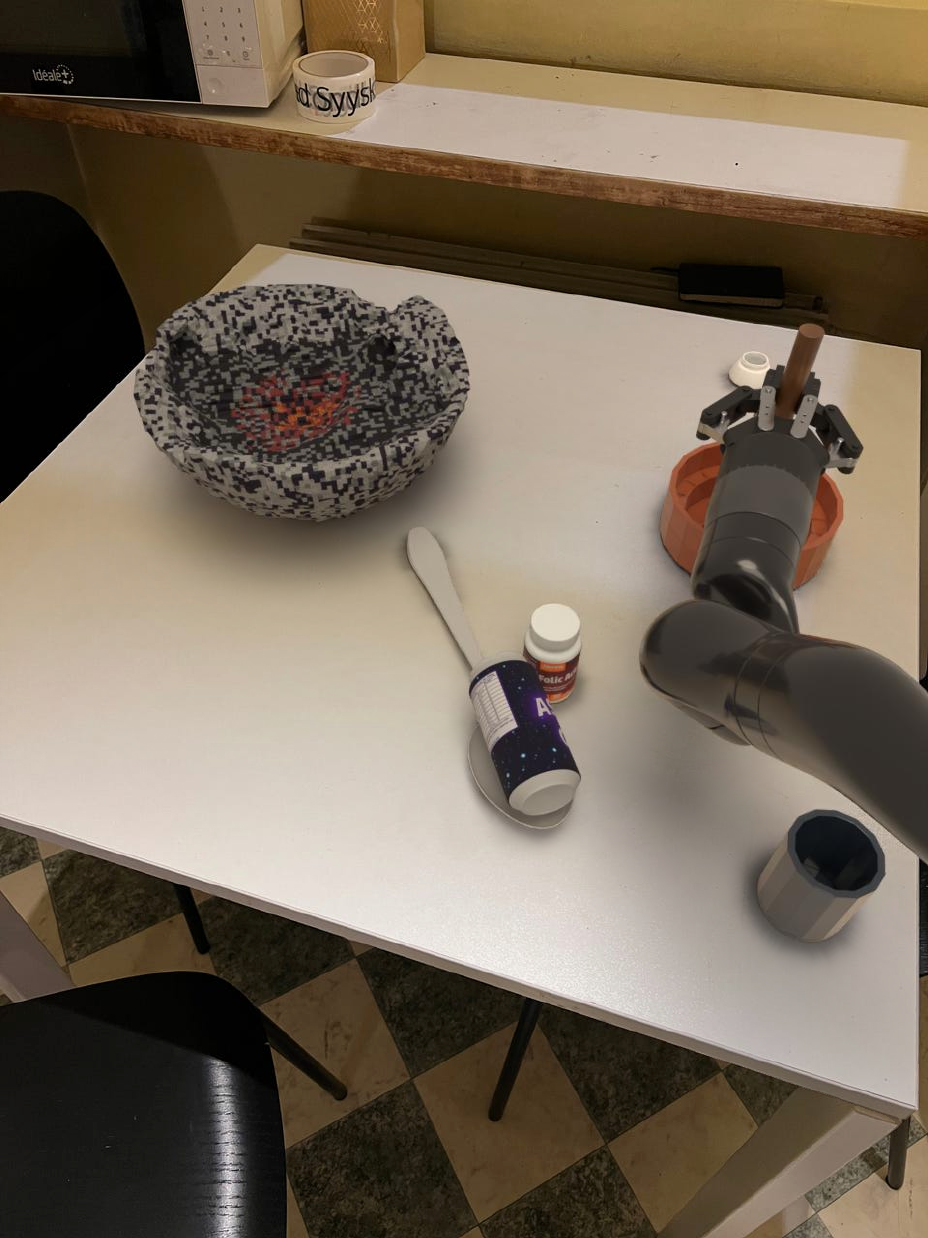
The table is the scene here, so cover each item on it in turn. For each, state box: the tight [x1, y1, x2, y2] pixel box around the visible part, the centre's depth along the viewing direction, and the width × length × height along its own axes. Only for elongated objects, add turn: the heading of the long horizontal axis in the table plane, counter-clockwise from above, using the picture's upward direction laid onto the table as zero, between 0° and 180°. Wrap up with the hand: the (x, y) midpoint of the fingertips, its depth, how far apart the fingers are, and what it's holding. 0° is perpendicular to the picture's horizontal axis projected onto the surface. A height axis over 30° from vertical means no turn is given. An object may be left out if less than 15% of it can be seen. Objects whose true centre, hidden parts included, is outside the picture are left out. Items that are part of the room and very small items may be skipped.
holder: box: [756, 808, 886, 943], centre depth 60 cm, size 6×6×8 cm
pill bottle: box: [522, 602, 583, 704], centre depth 72 cm, size 5×5×8 cm
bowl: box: [133, 283, 471, 523], centre depth 87 cm, size 31×31×15 cm
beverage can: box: [468, 651, 582, 815], centre depth 66 cm, size 6×6×12 cm
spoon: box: [406, 526, 576, 830], centre depth 76 cm, size 35×8×3 cm, turn 19°
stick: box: [774, 323, 826, 419], centre depth 77 cm, size 3×2×20 cm, turn 73°
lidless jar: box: [728, 350, 772, 390], centre depth 103 cm, size 5×3×5 cm
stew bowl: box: [658, 441, 844, 589], centre depth 85 cm, size 16×16×6 cm
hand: (792, 376), depth 76 cm, fingers closed on stick, 2 cm apart
